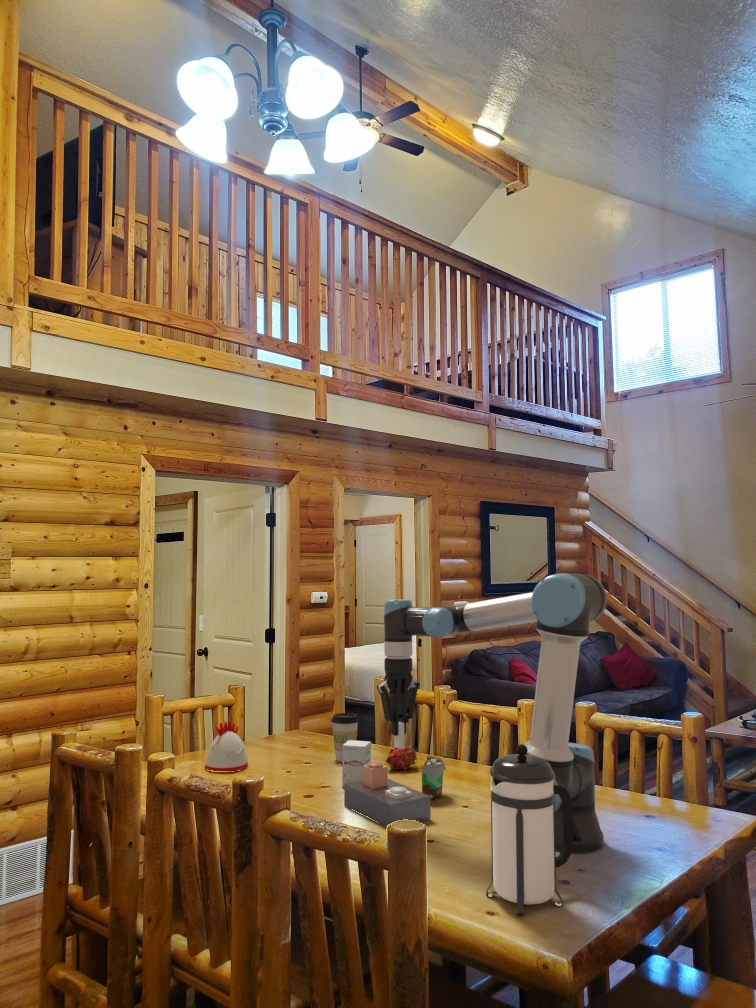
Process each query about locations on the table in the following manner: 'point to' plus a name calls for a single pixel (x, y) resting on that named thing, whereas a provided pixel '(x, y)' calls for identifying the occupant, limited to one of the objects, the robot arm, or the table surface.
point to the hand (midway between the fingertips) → (399, 747)
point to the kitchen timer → (227, 751)
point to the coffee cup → (343, 731)
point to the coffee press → (526, 829)
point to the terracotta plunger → (375, 775)
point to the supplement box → (355, 760)
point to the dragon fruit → (401, 758)
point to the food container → (433, 777)
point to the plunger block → (387, 803)
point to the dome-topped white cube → (397, 792)
